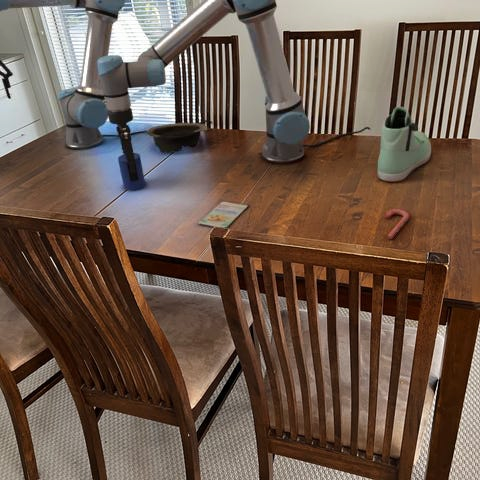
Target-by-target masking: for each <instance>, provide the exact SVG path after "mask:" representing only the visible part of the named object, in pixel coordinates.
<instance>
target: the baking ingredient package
mask: <svg viewBox="0 0 480 480" xmlns="http://www.w3.org/2000/svg"><path fill="white" fill-rule="evenodd" d="M248 206H249V205H246V204H240V203H236V202H235V203H234V202H229V201H221V202H220V203H219V204H218V205H216V206H215V207H214V208H213V209H212V210H211V211H210V212H209V213H208V214H206V215H205V216H204V217H203V218H202V219H201V220H199V222H198V225H199V224H200V225H204V226H208V227H214V228H215V227H216V228H220V227H226V228H227V227H228V226H229V225H230V224H231V223H233V221H234V220H236V218H237V217H239V215H241V214H242V213H243V211H245V209H247V207H248Z"/></svg>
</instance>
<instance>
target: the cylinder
mask: <svg viewBox="0 0 480 480" xmlns="http://www.w3.org/2000/svg"><path fill="white" fill-rule="evenodd" d="M134 157H135V160H136V162H135V163H136V169H137V174H138V179H139V180H138V181H133V182H130V177H129V172H128V167H127V164H125V162H127V160H126V155H125V154H120V155H119V156H118V157H117V161H118V162H117V163H118V166H119V171H120V175H121V180H122V184H123V188H124V190H126V191H138V190H141V189H143V188H144V187H146V181H145V174H144V169H143V164H142V159H141V154H139V152H138V153H137V152H134Z"/></svg>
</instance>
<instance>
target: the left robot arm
mask: <svg viewBox="0 0 480 480" xmlns="http://www.w3.org/2000/svg"><path fill="white" fill-rule="evenodd" d="M125 4H126V0H0V12H2V11H8V10H9V9H25V8H44V7H63V6H64V7H65V6H69V7H71V8H72V9H84V13H85V14H86V16H87V18H88V21H87V29H86V35H85V45H84V51H83V59H82V68H81V76H80V83H79V85H78V86H76V87H69V88H66V89H61V90H60V91H58V93H57V95H58V102H59V105H60V107H61V113H62V116H63V119H64V123H65V126H66V133H65V135H64V138H65V144H66V148H68V149H70V150H85V149H92V148H94V147H97V146H99V145H102V143H104V138H107V137H108V138H119V136H118V134H102V132H101V130H100V129H99V128H101V127H102V126H103V125H105V123H106V122H107V121H108V120H109V118H108V113H107V112H108V109H107V107H106V103H103V100H105V98H104V94H103V89H102V85H101V81H100V77H99V70H98V64H97V61H98V59H99V58H101V57H104V56H109V53H110V44H111V38H112V31H113V25H114V24H115V23H117V22H118V19H119V14H120V11H121V10H122V9H123V8H124V6H125ZM0 66H1V68H2V69H3V70H4V71H5V72H6V73H5V72H3V71H2V70H0V77H1V82H2V85H3V88H4V91H5V94H6V97H7V99H9V100H10V99H11V100H12V97H11V94H10V90H9V89H11V88H12V86H11V83H10V80H9V79H10V77H12V76H14V74H13V72H12V70H10V68H8V66H7V65H6V64H5V63H4V62H3V61H2V60H1V59H0ZM198 123H199V124H205V123H209V124H213V121H211V120H209V119H205V120H201V121H199V122H198ZM145 130H146V129H145ZM145 130H139V131H134V132H130V135H131V136H133V135H138V134H145V133H146V132H147V130H148V129H147V130H146V132H144V131H145ZM146 134H147V133H146Z"/></svg>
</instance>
